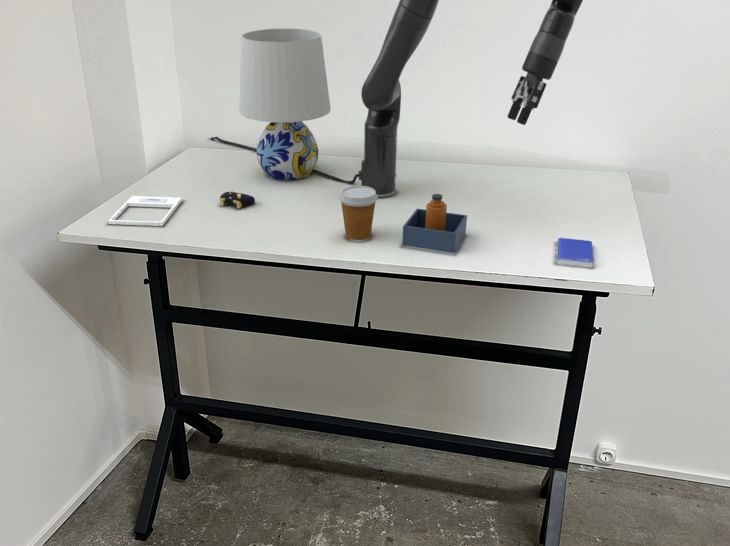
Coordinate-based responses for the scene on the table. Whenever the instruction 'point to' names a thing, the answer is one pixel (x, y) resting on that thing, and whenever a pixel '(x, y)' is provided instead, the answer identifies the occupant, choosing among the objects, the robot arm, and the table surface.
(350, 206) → the disposable coffee cup
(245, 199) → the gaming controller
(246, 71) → the table lamp
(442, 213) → the bottle
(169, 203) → the photo frame
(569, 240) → the blue book
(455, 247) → the tote
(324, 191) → the table surface
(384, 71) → the robot arm
